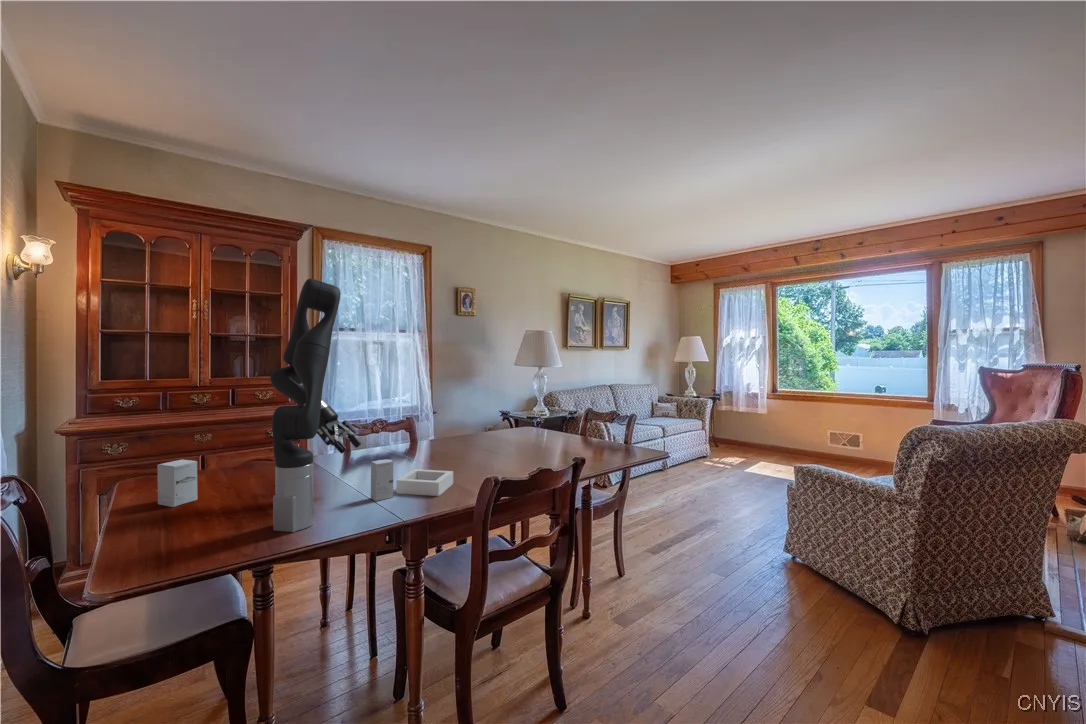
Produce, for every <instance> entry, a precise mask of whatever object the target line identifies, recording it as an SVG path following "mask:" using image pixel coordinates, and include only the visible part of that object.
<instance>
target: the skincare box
mask: <svg viewBox="0 0 1086 724" xmlns="http://www.w3.org/2000/svg"><path fill="white" fill-rule="evenodd" d="M392 498H394V461H393V460H391V459H389V458H386V459H378V460H372V461H370V499H372V500H373V501H375V502H377V501H382V500H386V499H387V500H388V499H392Z"/></svg>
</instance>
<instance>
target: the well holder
mask: <svg viewBox="0 0 1086 724" xmlns="http://www.w3.org/2000/svg"><path fill="white" fill-rule="evenodd" d="M395 483H396V487H395V491H396V493H395V494H401V495H414V496H415V495H417V496H418V495H419V496H432V497H440V496H441V495H442V494H443V493H444V492H446V491H447V490H448V489H449V488H450V487H452V486H453V484H454V471H453V470H435V469H421V468H420V469H416V468H414V469H412V470H411V471H409V472H407V473H406V474H405V473H404V475H402V476H401V477H399V478H397V479H396V482H395Z"/></svg>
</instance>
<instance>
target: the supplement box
mask: <svg viewBox="0 0 1086 724" xmlns="http://www.w3.org/2000/svg"><path fill="white" fill-rule="evenodd" d="M194 501H198V461H197V460H190V459H179V460H172V461H168V462H163V463H160V464H157V505H160V506H166V507H171V508H175V507H179V506H180V505H183V504H188V503H191V502H194Z"/></svg>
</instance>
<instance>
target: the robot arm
mask: <svg viewBox="0 0 1086 724" xmlns="http://www.w3.org/2000/svg"><path fill="white" fill-rule="evenodd" d="M341 293H342V292H341V289H340V288H339V287H337V286H335V285H334V284H330V283H327V282H325V281H320V280H318V279H314V278H308V279H306V280H305V282H304V283H303V285H302V286H301V290H300V293H299V296H298V300H297V305H296V309H295V313H294V317H293V323H292V328H291V332H290V335H289V339H288V342H287V344H286V348H285V350H284V354H283V361H284V362H285V364H287V365H288V366H285V367H280V368H276V369H275V370H273V371H272V372H271V374H270V377H269V379H270V382H271V385H272V387H273V388H274V389H276V391H278V392H280V393H281V394H283V396H286V397H287V398H288V399H290V400H291V401H293V402H294V404H296V405H280V406H277V408H275V410H274V412H273V413H272V414H273V415H272V420H271V421H272V422H271V427H272V441H273V457H274V458H273V459H274V467H275V471H274V473H275V478H274V479H275V483H274V485H275V495H273V497H272V502H273V503H272V505H273V506H272V507H273V508H272V510H273V511H272V516H273V518H272V521H273V529H272V530H273V531H274V532H285V533H296V532H297V531H300V530H304V529H307V528H309V527H311V526H312V525H314V524H315V523H314V521H315V520H314V509H315V508H314V454H313V452H312V451H311V450H308V449H305V448H302V447H300V446H298V445H297V444H295V442H294V441H293V440H295V441H296V440H310V439H311V440H312V439H313V438H315V437H316V436H317V435H318V437H320V439H321V440H322V441H323V442H324V444H325V445H326V446H330V445H331V446H332V447H334V448H335V449H336V450H337V451H338V452H339V453H340V454H344V453H345V452H346V451H347V449H348V448H347V447H346V446H345V445H344V444H343V443H342V441H340V439H339V437H340V438H345V439H347V440H348V441H349V442H350V443H351V444H352V446H354V447H355V448H359V447H360V446H361V445H362V442H361V441H360V440H359V439H358V438H357V437H356V434H357V430H356V429H355V428H354V427H353V426H352V425H351V424H350V423H349V422H348V421H347V420H342V422H341V421H340V420H338V418H339V414H338V413H337V412H336V411H335V410H334V409H333V408H332V407H331V405H330V404H329V403H328V402H327V401H326V400H325V399H324V398H323V389H324V382H325V378H326V373H327V368H328V363H329V357H330V352H331V350H330V349H331V344H332V336H333V330H334V326H335V320H336V318H337V314H338V310H339V304H340V300H341ZM308 309H310V310H312V311H317V312H320V313H324V314H323V317H322V318H321V319H320V321H319V322H318V323H316V324H315V325H314V326H313V327H311V328H310V327H309V323H308V318H307V316H308Z"/></svg>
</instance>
